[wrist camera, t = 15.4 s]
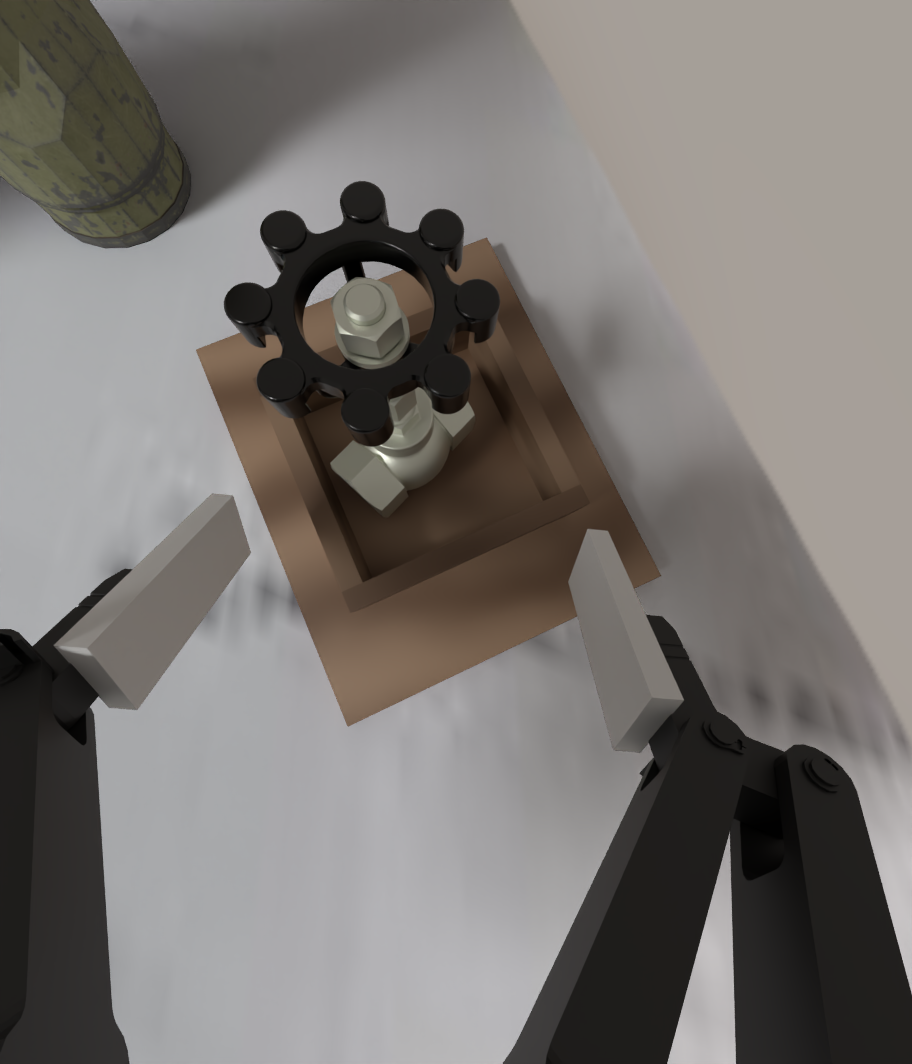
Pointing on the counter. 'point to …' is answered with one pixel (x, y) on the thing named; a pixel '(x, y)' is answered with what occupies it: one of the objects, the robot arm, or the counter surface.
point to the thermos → (84, 127)
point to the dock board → (428, 507)
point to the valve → (371, 340)
